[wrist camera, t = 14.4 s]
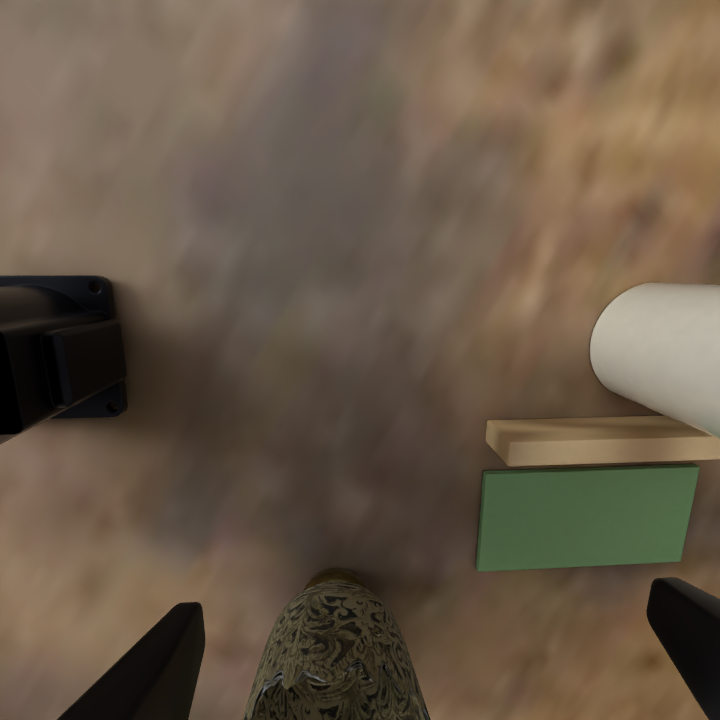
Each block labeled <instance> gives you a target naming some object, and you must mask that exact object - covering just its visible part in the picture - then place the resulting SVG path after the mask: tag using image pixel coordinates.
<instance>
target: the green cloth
mask: <svg viewBox="0 0 720 720" xmlns="http://www.w3.org/2000/svg"><path fill="white" fill-rule="evenodd" d="M699 469H700V467H699V466H697V465H695V464H677V465H648V466H619V467H590V468H561V469H531V470H502V471H483V480H482V494H481V507H480V521H479V534H478V547H477V561H476V568H477V570H478V572H486V571H506V570H525V569H545V568H564V567H584V566H603V565H623V564H642V563H661V562H680V561H681V556H682V552H683V547H684V542H685V537H686V532H687V527H688V522H689V518H690V513H691V508H692V503H693V498H694V493H695V488H696V484H697V479H698V474H699Z"/></svg>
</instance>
